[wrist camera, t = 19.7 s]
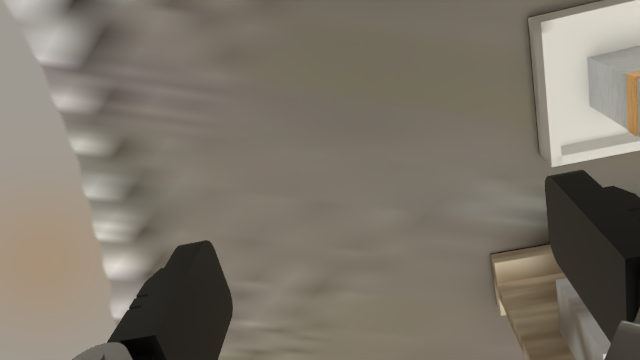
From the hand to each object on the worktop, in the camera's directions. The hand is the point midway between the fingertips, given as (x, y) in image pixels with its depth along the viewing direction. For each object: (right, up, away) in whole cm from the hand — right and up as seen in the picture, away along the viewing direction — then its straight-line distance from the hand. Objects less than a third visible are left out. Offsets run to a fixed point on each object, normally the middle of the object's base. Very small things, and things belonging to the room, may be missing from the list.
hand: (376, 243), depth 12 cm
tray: (+22, +10, +29) cm, 38 cm away
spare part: (+22, +10, +28) cm, 37 cm away
